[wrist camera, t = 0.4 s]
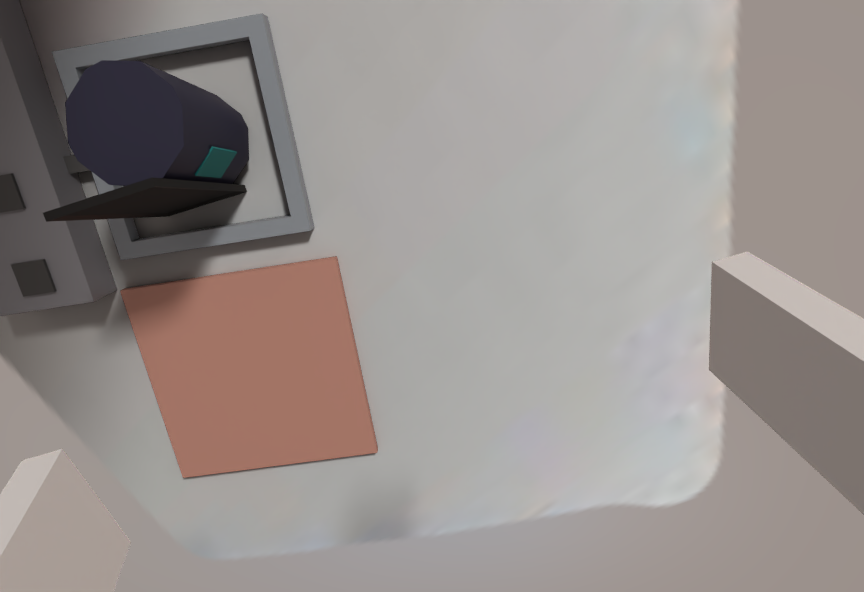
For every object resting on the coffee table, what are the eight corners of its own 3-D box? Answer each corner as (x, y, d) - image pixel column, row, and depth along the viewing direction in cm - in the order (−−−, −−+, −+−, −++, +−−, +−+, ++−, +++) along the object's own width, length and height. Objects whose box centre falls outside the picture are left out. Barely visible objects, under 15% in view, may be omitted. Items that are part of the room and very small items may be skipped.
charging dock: (-105, -41, 31) (-155, -55, 28) (239, -108, 30) (220, -129, 27) (29, 303, 37) (-2, 317, 34) (321, 258, 36) (311, 269, 33)
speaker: (257, 222, 35) (171, 240, 25) (165, 216, 35) (43, 230, 25) (258, 93, 33) (166, 54, 23) (162, 87, 33) (29, 46, 23)
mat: (124, 288, 36) (120, 290, 36) (336, 256, 36) (335, 258, 35) (186, 473, 41) (183, 477, 40) (378, 448, 40) (377, 452, 39)
